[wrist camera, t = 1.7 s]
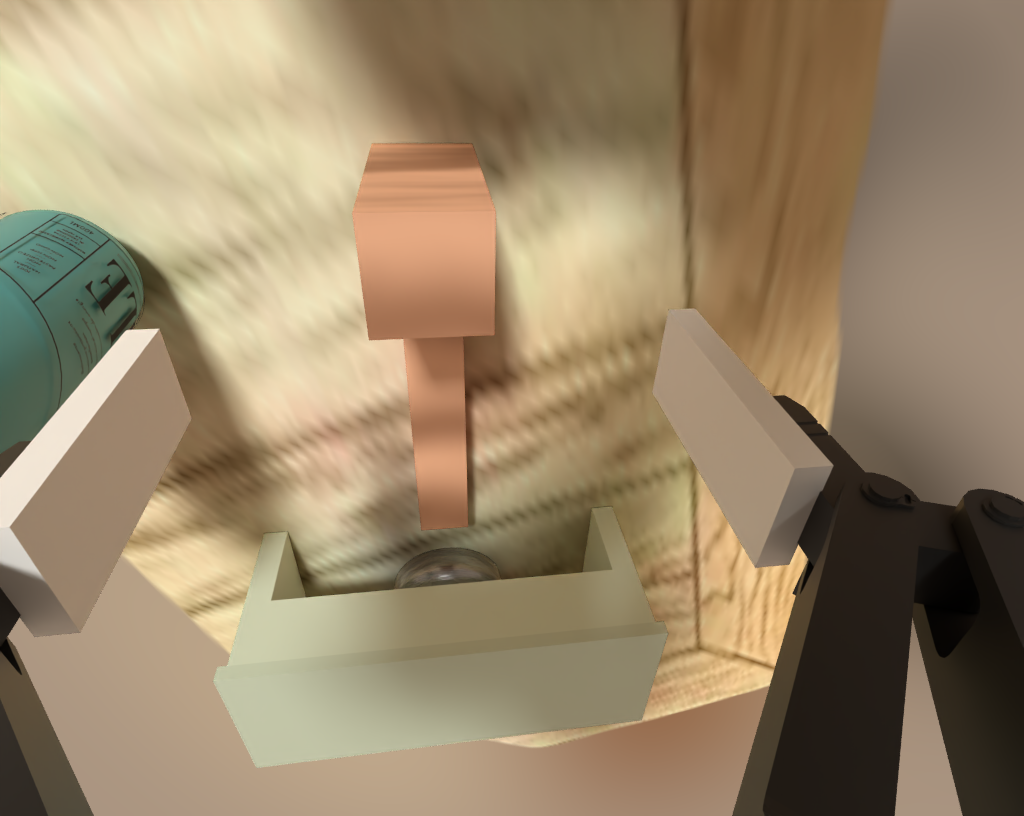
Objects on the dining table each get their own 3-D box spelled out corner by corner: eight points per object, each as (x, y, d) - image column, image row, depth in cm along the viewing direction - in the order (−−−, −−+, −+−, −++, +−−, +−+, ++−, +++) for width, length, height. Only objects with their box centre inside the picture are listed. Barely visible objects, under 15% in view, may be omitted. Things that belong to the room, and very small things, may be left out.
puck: (390, 550, 42) (388, 584, 40) (500, 541, 43) (505, 574, 41) (399, 617, 47) (398, 652, 44) (499, 608, 48) (503, 641, 45)
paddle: (371, 143, 26) (352, 213, 18) (472, 143, 27) (495, 211, 19) (409, 503, 39) (407, 636, 31) (476, 498, 40) (491, 627, 32)
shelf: (256, 534, 39) (213, 681, 31) (619, 505, 42) (668, 633, 34) (286, 623, 45) (256, 767, 37) (602, 593, 48) (641, 720, 40)
